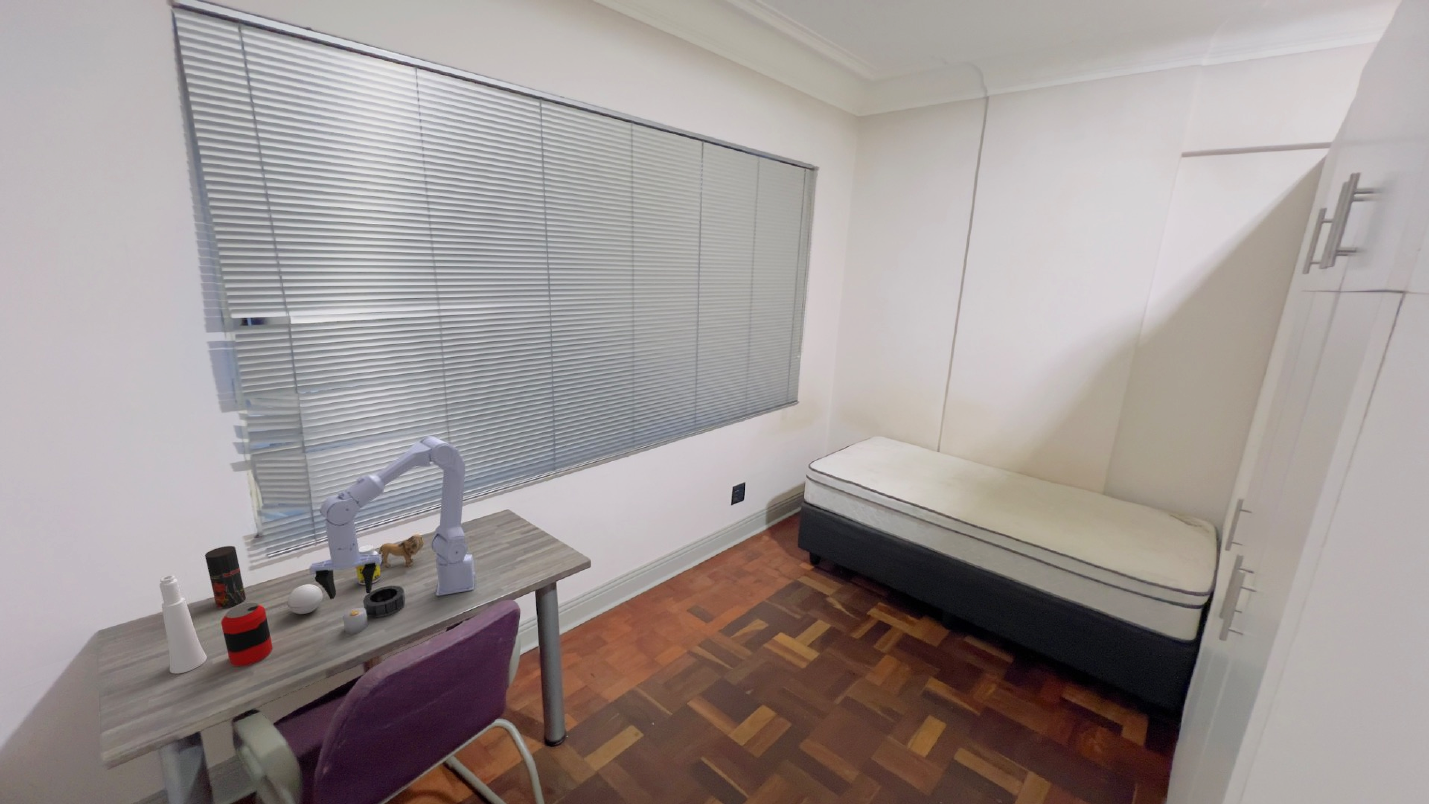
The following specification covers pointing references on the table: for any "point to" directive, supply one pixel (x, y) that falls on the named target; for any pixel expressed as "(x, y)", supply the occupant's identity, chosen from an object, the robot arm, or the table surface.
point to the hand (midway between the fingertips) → (351, 594)
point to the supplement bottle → (367, 551)
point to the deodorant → (225, 577)
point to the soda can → (246, 634)
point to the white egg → (304, 599)
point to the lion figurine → (402, 549)
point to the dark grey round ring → (384, 601)
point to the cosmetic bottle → (179, 629)
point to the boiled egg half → (355, 620)
